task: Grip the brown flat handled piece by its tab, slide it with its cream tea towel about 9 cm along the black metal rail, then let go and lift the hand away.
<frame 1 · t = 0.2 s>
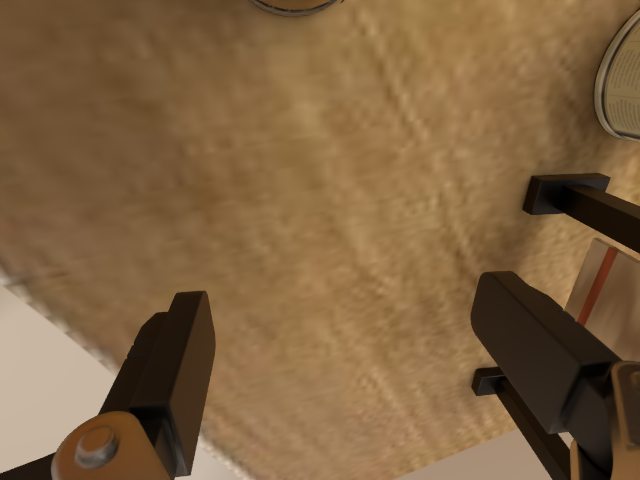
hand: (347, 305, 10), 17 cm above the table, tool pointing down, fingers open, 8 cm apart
rail: (524, 297, 35), on the table
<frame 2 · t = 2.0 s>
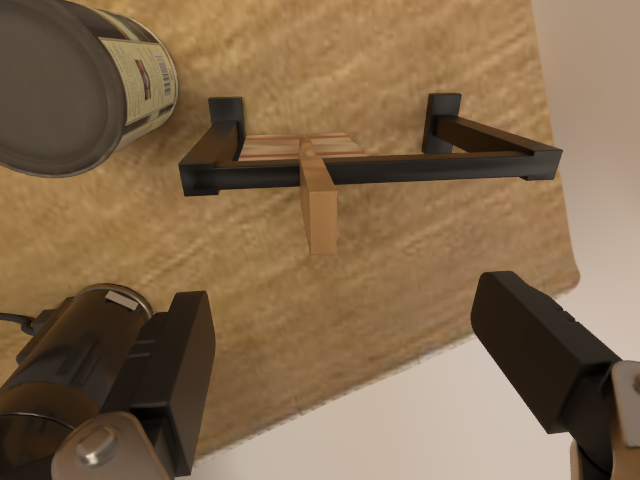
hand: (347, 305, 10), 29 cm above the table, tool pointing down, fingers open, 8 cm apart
coffee can: (121, 78, 32), on the table
brown flat handled piece: (305, 164, 23), point 14 cm above the table, slide at 0.0 cm
rail: (337, 126, 36), on the table
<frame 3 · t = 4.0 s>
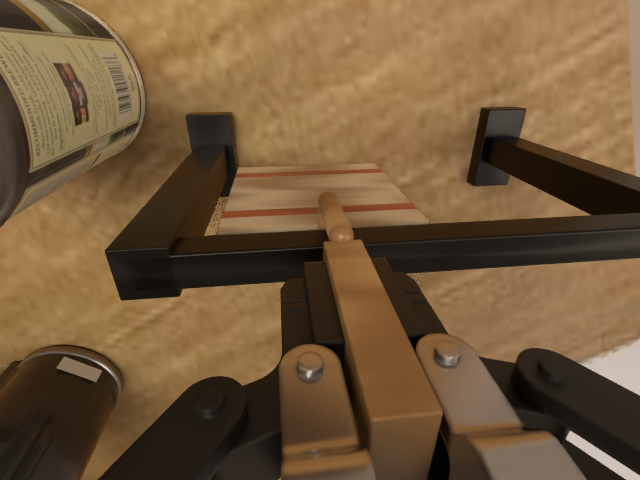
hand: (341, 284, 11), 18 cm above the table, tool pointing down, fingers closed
coffee can: (66, 86, 23), on the table
brown flat handled piece: (326, 232, 15), point 14 cm above the table, slide at 0.0 cm, touching gripper
rail: (359, 149, 28), on the table
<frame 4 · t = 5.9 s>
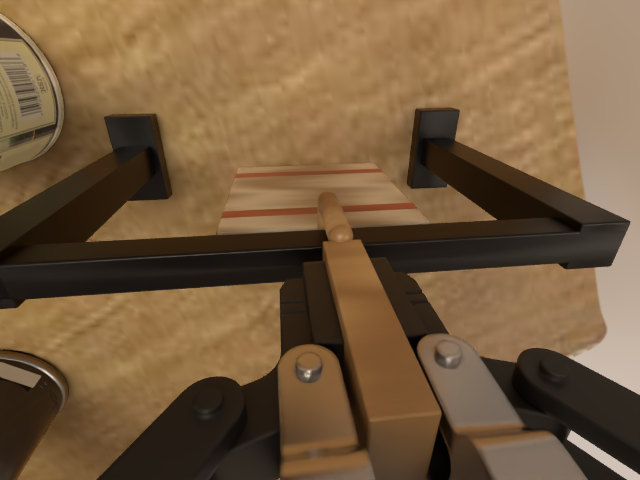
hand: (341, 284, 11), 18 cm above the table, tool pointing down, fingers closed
brown flat handled piece: (326, 232, 15), point 14 cm above the table, slide at 5.3 cm, touching gripper
rail: (291, 151, 27), on the table
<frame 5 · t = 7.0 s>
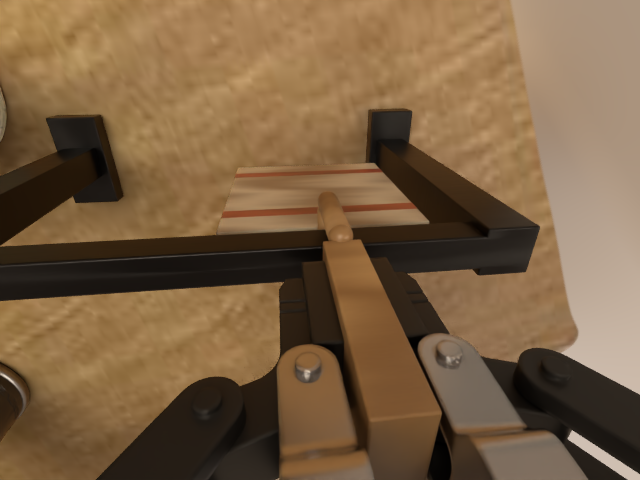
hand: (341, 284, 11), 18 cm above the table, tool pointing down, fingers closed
brown flat handled piece: (326, 231, 15), point 14 cm above the table, slide at 9.0 cm, touching gripper
rail: (244, 153, 27), on the table
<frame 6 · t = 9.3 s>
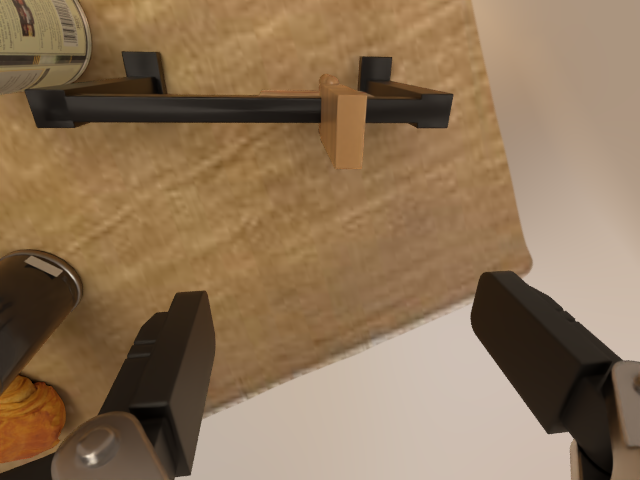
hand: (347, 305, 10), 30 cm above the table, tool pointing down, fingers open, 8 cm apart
coffee can: (30, 27, 31), on the table
brown flat handled piece: (324, 105, 23), point 14 cm above the table, slide at 9.0 cm
croissant: (19, 403, 51), on the table
rail: (264, 88, 35), on the table
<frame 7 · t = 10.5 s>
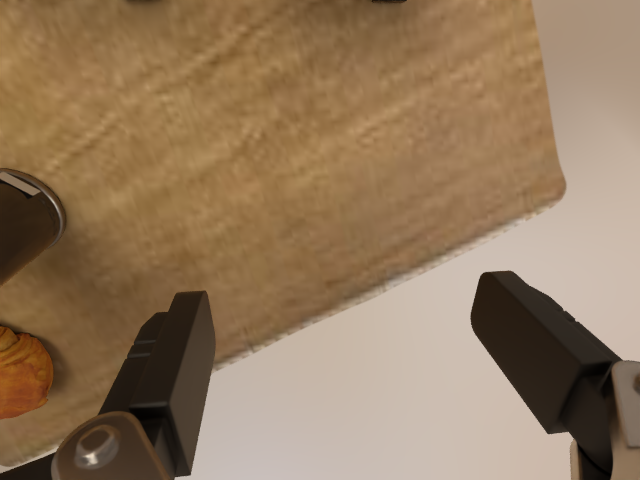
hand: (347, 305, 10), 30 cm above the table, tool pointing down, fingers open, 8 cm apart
croissant: (1, 359, 46), on the table
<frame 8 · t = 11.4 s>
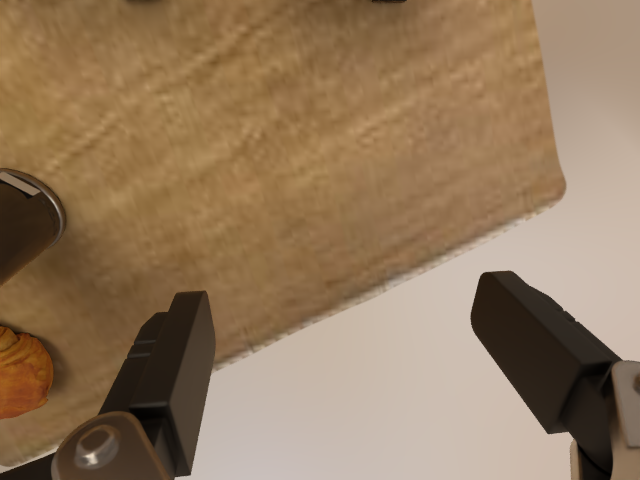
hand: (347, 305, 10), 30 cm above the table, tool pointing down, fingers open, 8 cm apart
croissant: (1, 359, 46), on the table
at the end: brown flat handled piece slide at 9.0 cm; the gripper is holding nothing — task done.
